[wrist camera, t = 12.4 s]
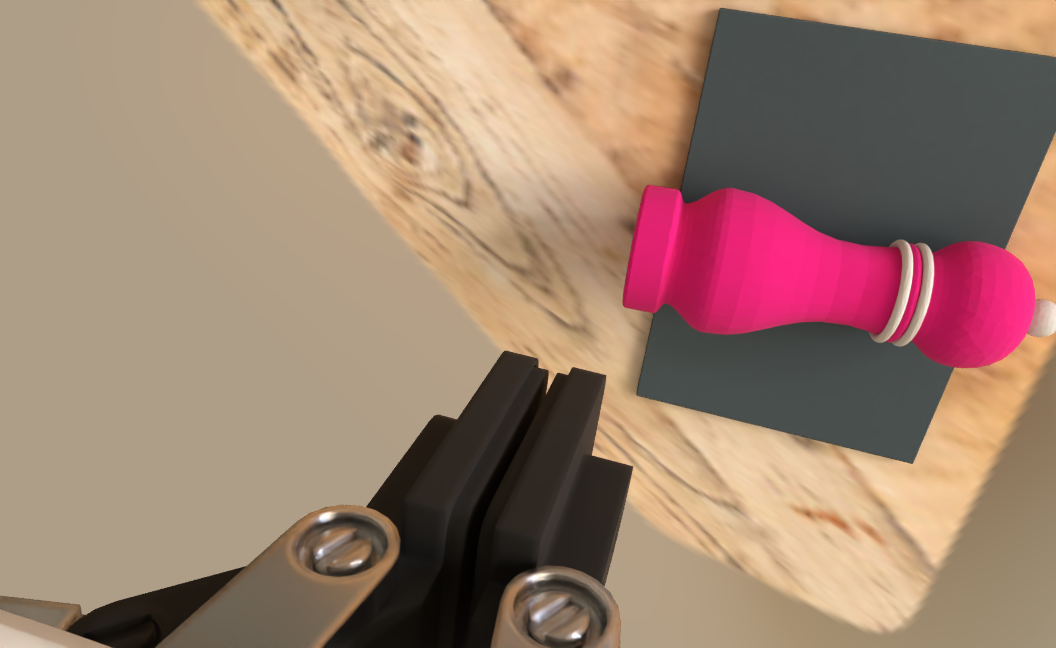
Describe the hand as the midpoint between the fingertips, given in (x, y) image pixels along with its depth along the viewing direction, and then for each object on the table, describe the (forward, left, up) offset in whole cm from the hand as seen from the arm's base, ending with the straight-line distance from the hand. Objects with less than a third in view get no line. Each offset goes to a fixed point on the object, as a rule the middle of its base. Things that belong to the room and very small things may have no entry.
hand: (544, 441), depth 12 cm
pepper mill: (+6, -2, -27) cm, 28 cm away
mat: (+6, +8, -31) cm, 33 cm away
